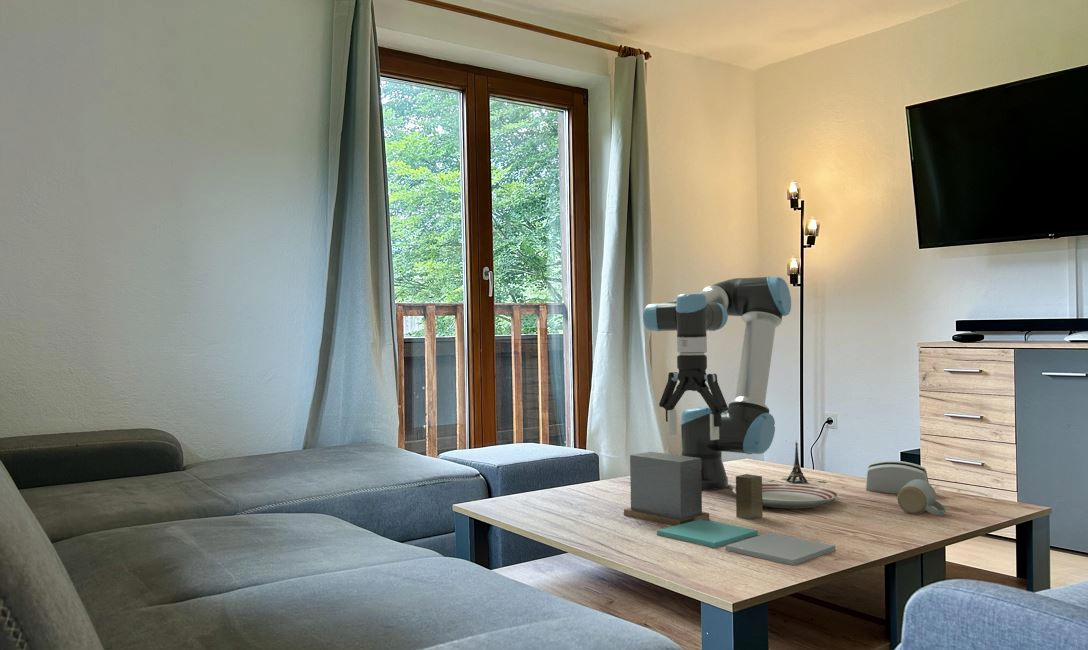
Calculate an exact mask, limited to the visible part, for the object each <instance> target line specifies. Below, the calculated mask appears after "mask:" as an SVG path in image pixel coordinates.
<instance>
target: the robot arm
mask: <svg viewBox="0 0 1088 650" xmlns="http://www.w3.org/2000/svg"><path fill="white" fill-rule="evenodd" d="M791 310H792V298H791V293H790V288H789V286H788V283H787V282H786V280H785V279H784V278H782V277H781V276H761V277H760V276H759V277H736V278H730V279H727V280H724V281H720V282H717V283H714V284H711V285H708V286H706V287H704V288H703V289H702V290H701V291H700V292H696V293H682V294H678V295H677V296H676V299H674V300H671V301H667V302H663V303H658V302H656V303H649V304H647V305H646V306H645V308H644V309H643V312H642V321H643V324H644V327H645V328H646V329H647V330H648V331H651V332H652V331H654V332H666V331H667V332H668V331H669V332H670V331H674V332H675V331H676V352H677V353H678V355H677V356H676V360H677V361H676V363H677V365H676V366H677V369H678V372H677V371H672V372H668V377H667V383H666V385H665V388H664V390H663V393H662V396H661V398H660V401H659V404H658V406H659V407H660V408H663V409H664V410H665V422H666V423H667V436H677V433H678V431H677V428H678V427H677V425H678V424H677V423H678V422H677V418H678V417H677V409H676V408H675V407H676V406H677V404H679V401H680V400H681V398H682V397H683V396H684V394H685V392H687V391H692V392H697V393H699V394H700V395H701V397H702V399H703V400H704V402H705V403H706V404H707V406H702V407H694V408H688V409H685V410H683V411H682V413H681V417H680V436H681V437H680V439H681V443H680V445H681V456H688V457H695V458H701V478H702V491H705V490H709V491H710V490H719V489H720V490H721V489H726V488H727V487H728V486H729V478H728V476H727V472H726V469H725V466H724V463H723V456H722V454H723V453H722V452H725V453H736V454H746V455H760V454H765V452H767V451H768V449H769V448H770V447H771V445H772V443H773V441H774V438H775V437H774V436H775V432H776V427H775V424H776V422H775V419H774V416H773V414H771V413H770V408H769V407H768V405H767V404H766V399H767V391H768V385H769V377H770V370H771V369H770V368H771V363H772V355H773V347H774V340H775V333H776V328H777V327H779V326H781V324H782V322H783V321H782V320H783V317H786V316H788V315H790V312H791ZM729 316H731V317H741V319H742V321H743V322H744V323H745V329H744V334H743V335H744V336H743V342H742V349H741V357H740V362H739V363H740V364H739V367H738V375H737V381H736V390H735V397H734V399H733V400H731V401H730V402H729V403H728V405H727V402H726V399H725V397H724V395H723V392H722V390H721V387H720V385H719V383H718V375H717V373H708V374H707V372H706V370H707V368H708V356H707V355H706V354H705V353H708V345H707V344H708V343H707V339H708V338H707V336H708V335H707V331H708V332H709V331H710V332H712V331H713V332H714V331H717V330H721V329H722V328H724V327H725V325H726V324H727V322H728V318H729ZM678 382H679V383H678ZM706 382H707V383H706Z"/></svg>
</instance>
